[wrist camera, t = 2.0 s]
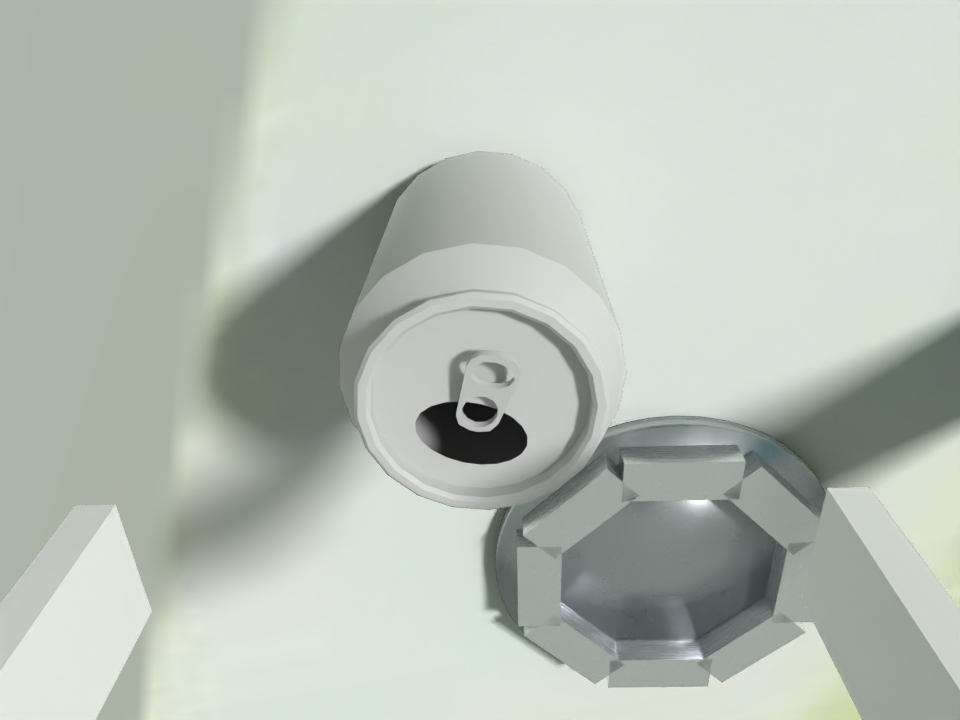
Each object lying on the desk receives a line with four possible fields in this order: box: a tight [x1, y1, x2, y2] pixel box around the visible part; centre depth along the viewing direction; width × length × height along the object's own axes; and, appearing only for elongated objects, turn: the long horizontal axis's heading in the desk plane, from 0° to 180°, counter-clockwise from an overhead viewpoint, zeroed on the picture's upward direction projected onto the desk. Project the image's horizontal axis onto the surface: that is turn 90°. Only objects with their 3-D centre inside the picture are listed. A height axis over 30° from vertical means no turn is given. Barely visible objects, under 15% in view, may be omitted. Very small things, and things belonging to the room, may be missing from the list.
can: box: [339, 151, 627, 510], centre depth 23 cm, size 8×8×12 cm
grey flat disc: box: [496, 416, 826, 687], centre depth 35 cm, size 16×16×2 cm
